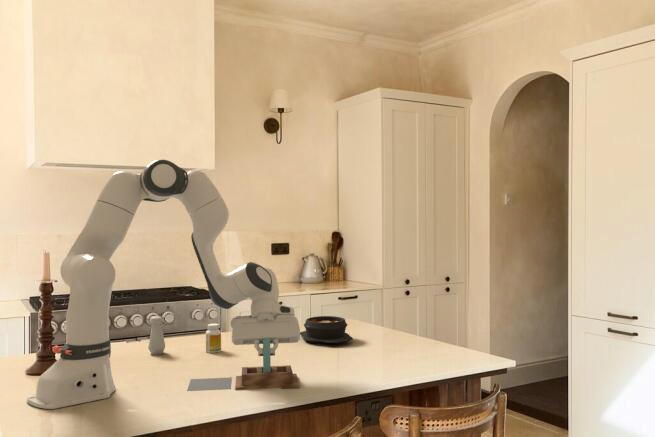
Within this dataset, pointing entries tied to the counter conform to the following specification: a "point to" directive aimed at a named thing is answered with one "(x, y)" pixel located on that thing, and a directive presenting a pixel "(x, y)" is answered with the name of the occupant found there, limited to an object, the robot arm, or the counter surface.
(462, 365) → the counter surface
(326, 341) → the casserole
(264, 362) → the teal rectangular block
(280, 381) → the rack
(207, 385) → the mat
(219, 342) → the supplement bottle
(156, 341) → the salt shaker
